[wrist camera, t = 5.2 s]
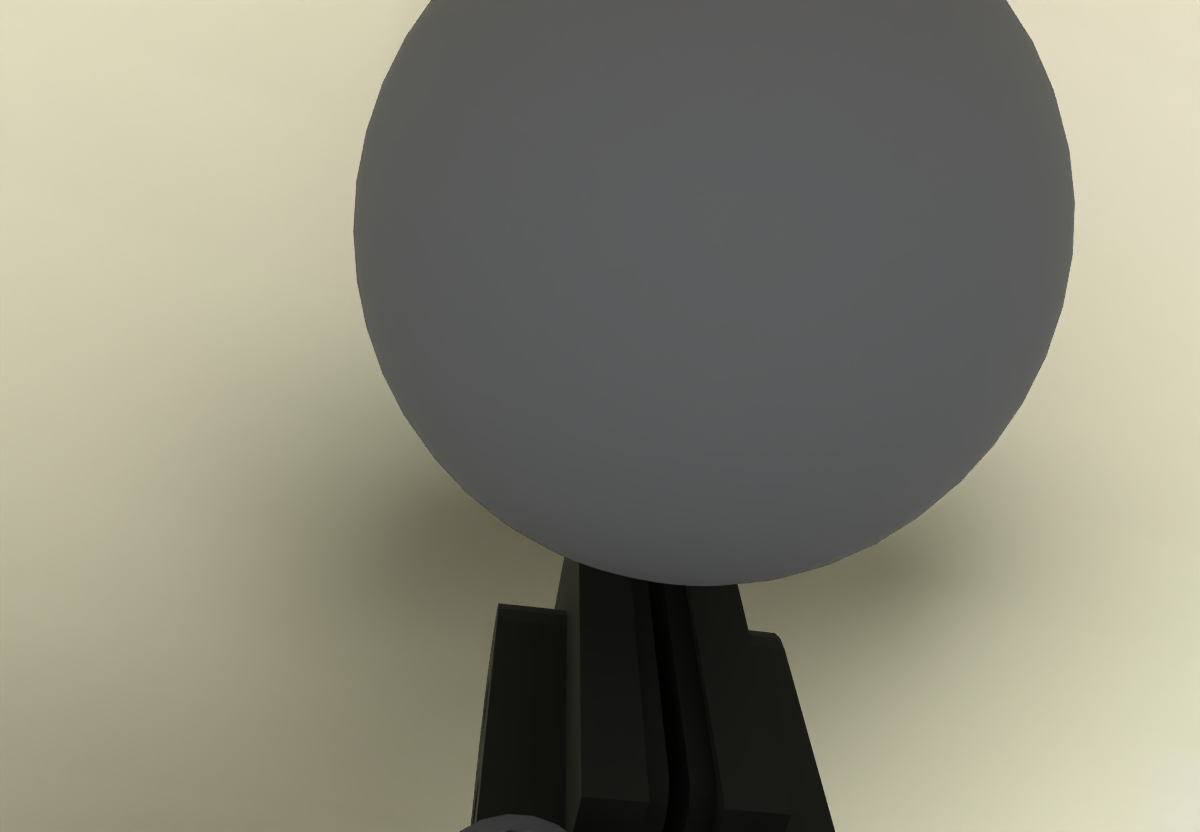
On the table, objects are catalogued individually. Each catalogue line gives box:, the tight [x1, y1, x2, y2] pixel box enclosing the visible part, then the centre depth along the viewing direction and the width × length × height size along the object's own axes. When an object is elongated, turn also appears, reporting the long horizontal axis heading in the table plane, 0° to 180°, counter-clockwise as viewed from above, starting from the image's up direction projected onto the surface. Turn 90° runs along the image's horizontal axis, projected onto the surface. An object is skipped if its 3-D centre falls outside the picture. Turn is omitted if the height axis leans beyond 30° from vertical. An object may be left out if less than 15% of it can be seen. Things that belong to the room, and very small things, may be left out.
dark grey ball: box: [353, 0, 1075, 586], centre depth 8 cm, size 6×6×6 cm
